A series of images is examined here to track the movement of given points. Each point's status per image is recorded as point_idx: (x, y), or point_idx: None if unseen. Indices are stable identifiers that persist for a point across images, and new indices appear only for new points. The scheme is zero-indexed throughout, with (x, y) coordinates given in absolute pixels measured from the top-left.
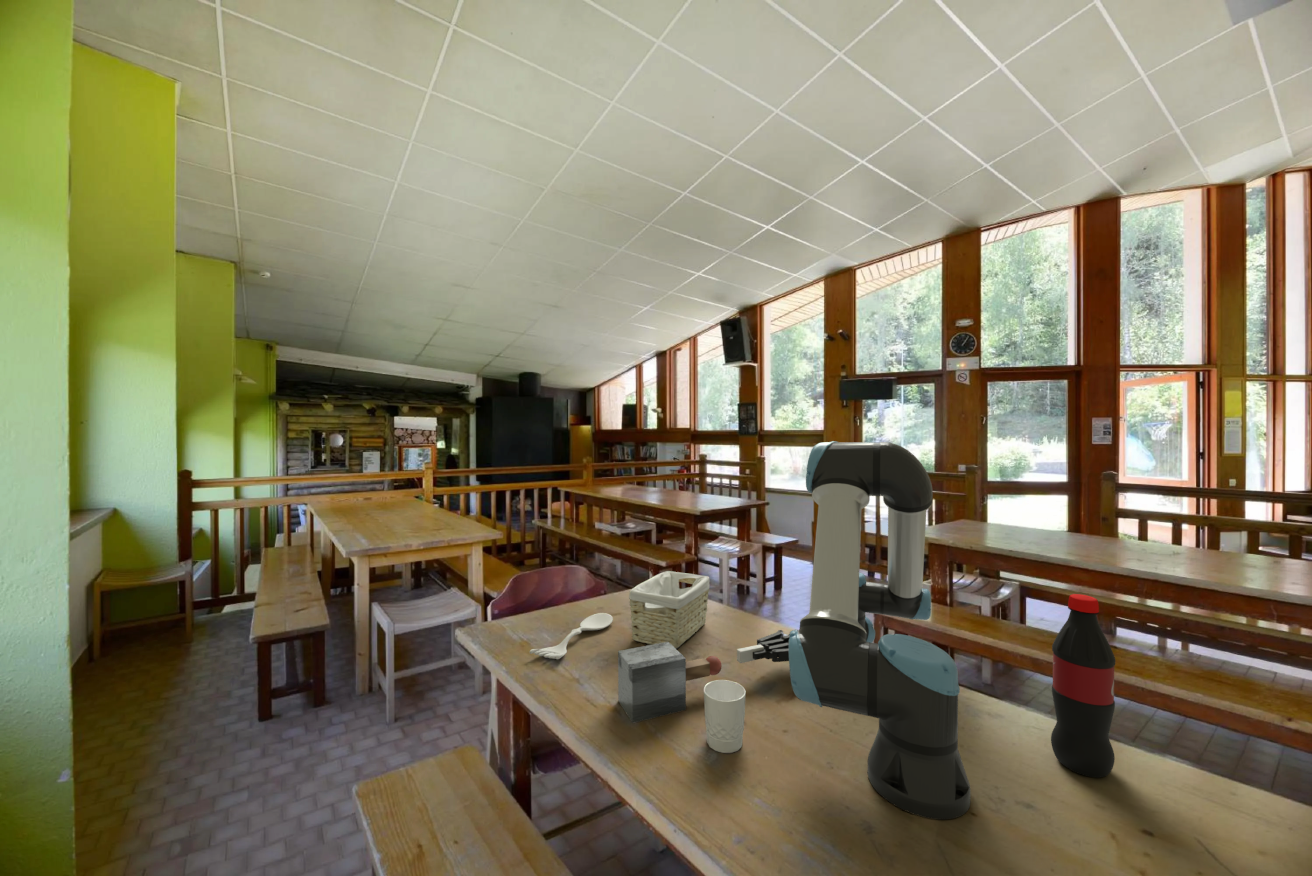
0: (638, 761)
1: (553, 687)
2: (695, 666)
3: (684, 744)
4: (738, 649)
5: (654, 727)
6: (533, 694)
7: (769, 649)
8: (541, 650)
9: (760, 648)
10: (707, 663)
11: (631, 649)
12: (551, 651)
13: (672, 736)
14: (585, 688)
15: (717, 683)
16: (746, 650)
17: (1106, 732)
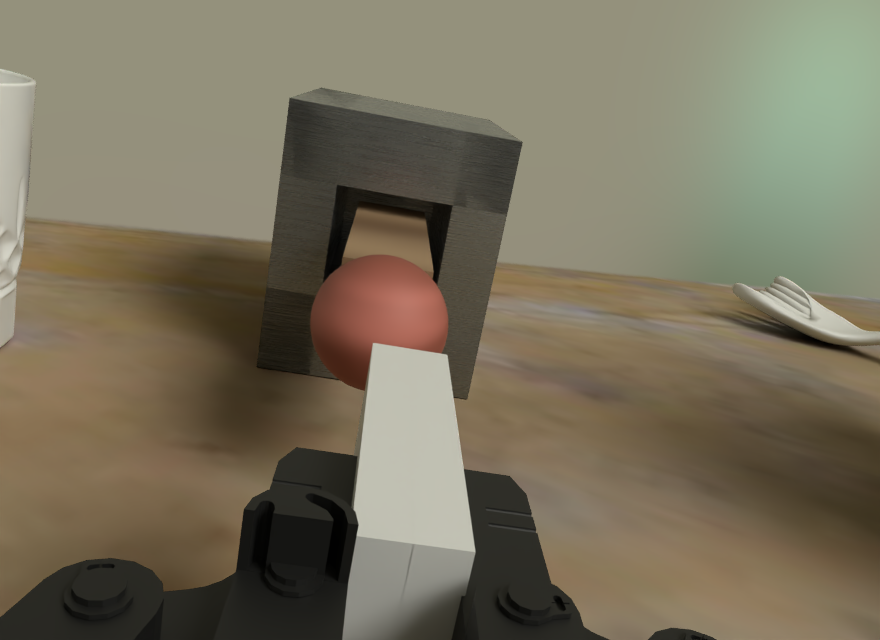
0: (109, 242)
1: (591, 288)
2: (350, 232)
3: (58, 292)
4: (431, 354)
5: (227, 297)
6: (562, 269)
7: (236, 584)
8: (803, 298)
9: (355, 506)
10: (348, 253)
11: (486, 122)
12: (817, 318)
13: (134, 296)
14: (566, 308)
15: (8, 99)
16: (369, 375)
17: None
